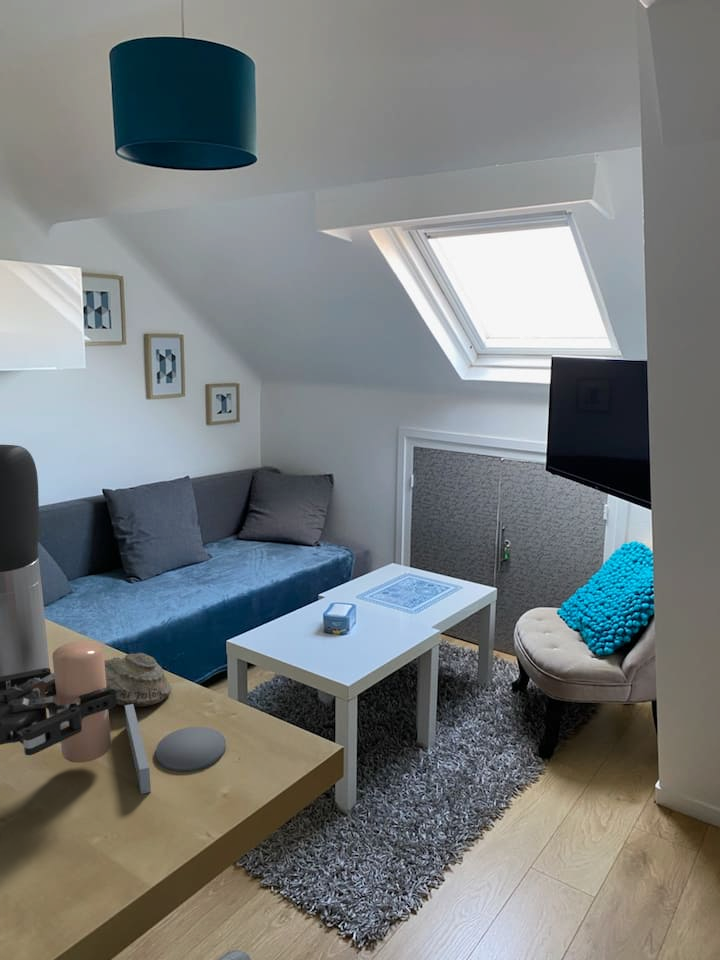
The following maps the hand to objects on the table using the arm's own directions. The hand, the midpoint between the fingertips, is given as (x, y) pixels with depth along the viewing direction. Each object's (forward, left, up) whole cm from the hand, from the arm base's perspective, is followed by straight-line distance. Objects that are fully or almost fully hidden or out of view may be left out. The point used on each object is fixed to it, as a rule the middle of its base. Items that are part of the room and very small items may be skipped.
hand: (104, 684), depth 83 cm
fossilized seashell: (-14, +3, -10) cm, 17 cm away
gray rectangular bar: (+1, +3, -9) cm, 10 cm away
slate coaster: (+2, +9, -9) cm, 13 cm away
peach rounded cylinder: (+1, -2, -7) cm, 7 cm away
